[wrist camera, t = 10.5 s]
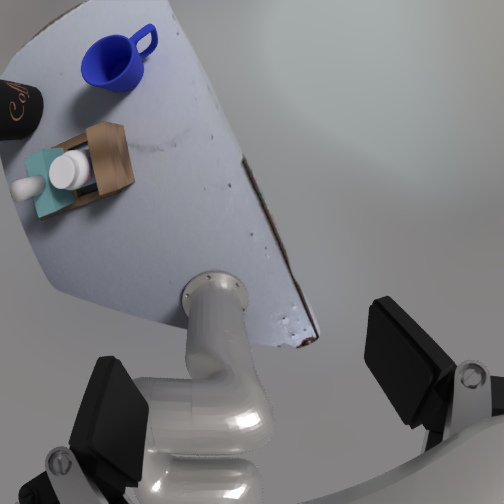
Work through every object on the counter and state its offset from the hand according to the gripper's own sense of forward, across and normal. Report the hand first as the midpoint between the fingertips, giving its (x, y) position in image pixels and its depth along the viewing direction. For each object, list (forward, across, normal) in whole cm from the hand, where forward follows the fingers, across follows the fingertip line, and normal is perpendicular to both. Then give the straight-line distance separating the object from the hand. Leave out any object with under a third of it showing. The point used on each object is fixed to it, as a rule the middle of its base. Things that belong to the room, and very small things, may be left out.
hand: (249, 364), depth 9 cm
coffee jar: (+38, +34, -26) cm, 58 cm away
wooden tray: (+38, +24, -10) cm, 46 cm away
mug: (+38, +10, -25) cm, 47 cm away
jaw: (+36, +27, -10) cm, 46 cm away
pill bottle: (+38, +21, -10) cm, 45 cm away
